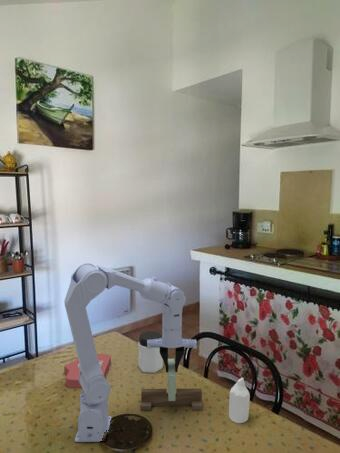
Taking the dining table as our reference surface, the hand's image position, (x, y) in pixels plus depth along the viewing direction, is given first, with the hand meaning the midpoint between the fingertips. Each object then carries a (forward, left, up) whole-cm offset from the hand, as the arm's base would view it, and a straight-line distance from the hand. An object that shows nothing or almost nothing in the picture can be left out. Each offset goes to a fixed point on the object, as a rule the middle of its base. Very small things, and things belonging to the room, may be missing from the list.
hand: (171, 370), depth 101 cm
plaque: (+18, +29, -11) cm, 36 cm away
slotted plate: (0, 0, -6) cm, 6 cm away
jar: (+22, +7, -11) cm, 25 cm away
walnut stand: (0, 0, -10) cm, 10 cm away
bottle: (-6, -19, -11) cm, 23 cm away
